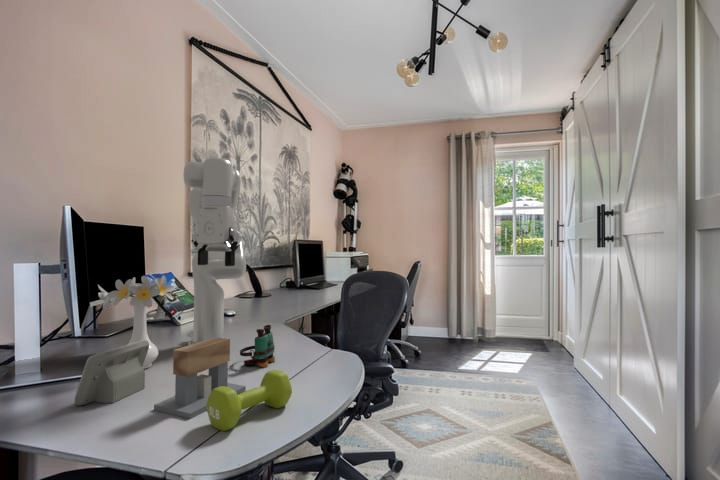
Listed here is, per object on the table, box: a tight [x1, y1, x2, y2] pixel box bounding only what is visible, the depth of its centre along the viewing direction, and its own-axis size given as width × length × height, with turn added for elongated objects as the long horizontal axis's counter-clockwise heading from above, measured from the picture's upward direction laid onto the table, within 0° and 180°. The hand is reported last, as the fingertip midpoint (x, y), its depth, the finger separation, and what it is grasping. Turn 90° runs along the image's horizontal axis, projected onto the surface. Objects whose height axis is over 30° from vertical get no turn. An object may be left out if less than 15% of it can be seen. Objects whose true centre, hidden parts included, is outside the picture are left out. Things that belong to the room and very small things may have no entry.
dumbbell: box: [207, 369, 293, 432], centre depth 76 cm, size 16×8×7 cm, turn 142°
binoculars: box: [239, 324, 276, 368], centre depth 110 cm, size 9×11×10 cm
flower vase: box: [97, 275, 176, 370], centre depth 105 cm, size 13×18×25 cm
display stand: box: [153, 361, 247, 420], centre depth 83 cm, size 10×16×7 cm, turn 157°
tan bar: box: [172, 337, 231, 377], centre depth 83 cm, size 4×12×5 cm, turn 157°
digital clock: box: [73, 340, 149, 406], centre depth 86 cm, size 16×9×11 cm, turn 156°
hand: (216, 265), depth 106 cm, fingers open, 9 cm apart
